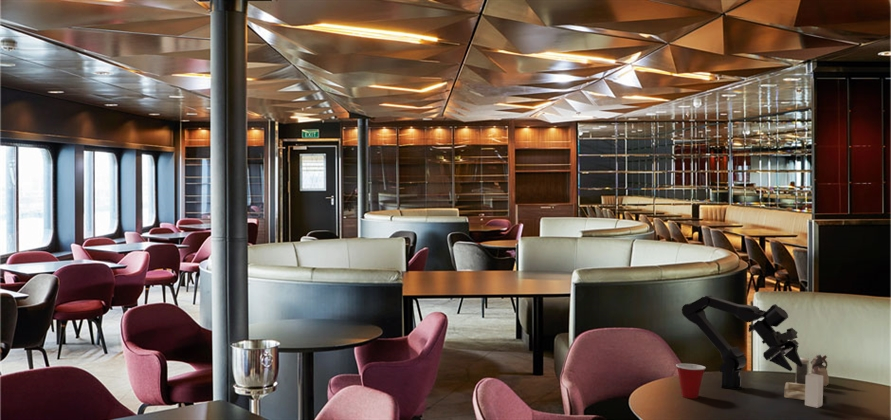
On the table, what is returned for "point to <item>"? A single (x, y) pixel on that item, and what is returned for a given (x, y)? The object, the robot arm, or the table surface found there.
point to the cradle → (798, 382)
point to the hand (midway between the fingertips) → (796, 368)
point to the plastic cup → (690, 379)
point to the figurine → (820, 368)
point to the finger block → (814, 390)
